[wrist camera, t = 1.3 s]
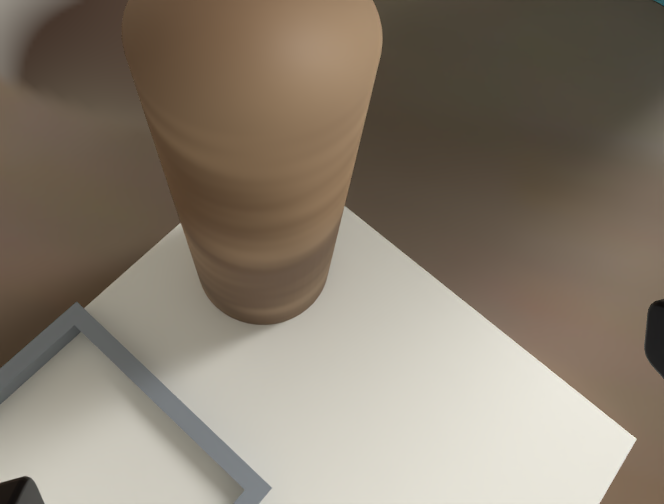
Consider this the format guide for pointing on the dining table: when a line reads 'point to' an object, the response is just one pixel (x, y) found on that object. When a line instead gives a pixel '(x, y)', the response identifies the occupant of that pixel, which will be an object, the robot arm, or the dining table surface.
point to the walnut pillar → (256, 135)
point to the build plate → (296, 397)
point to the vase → (662, 0)
